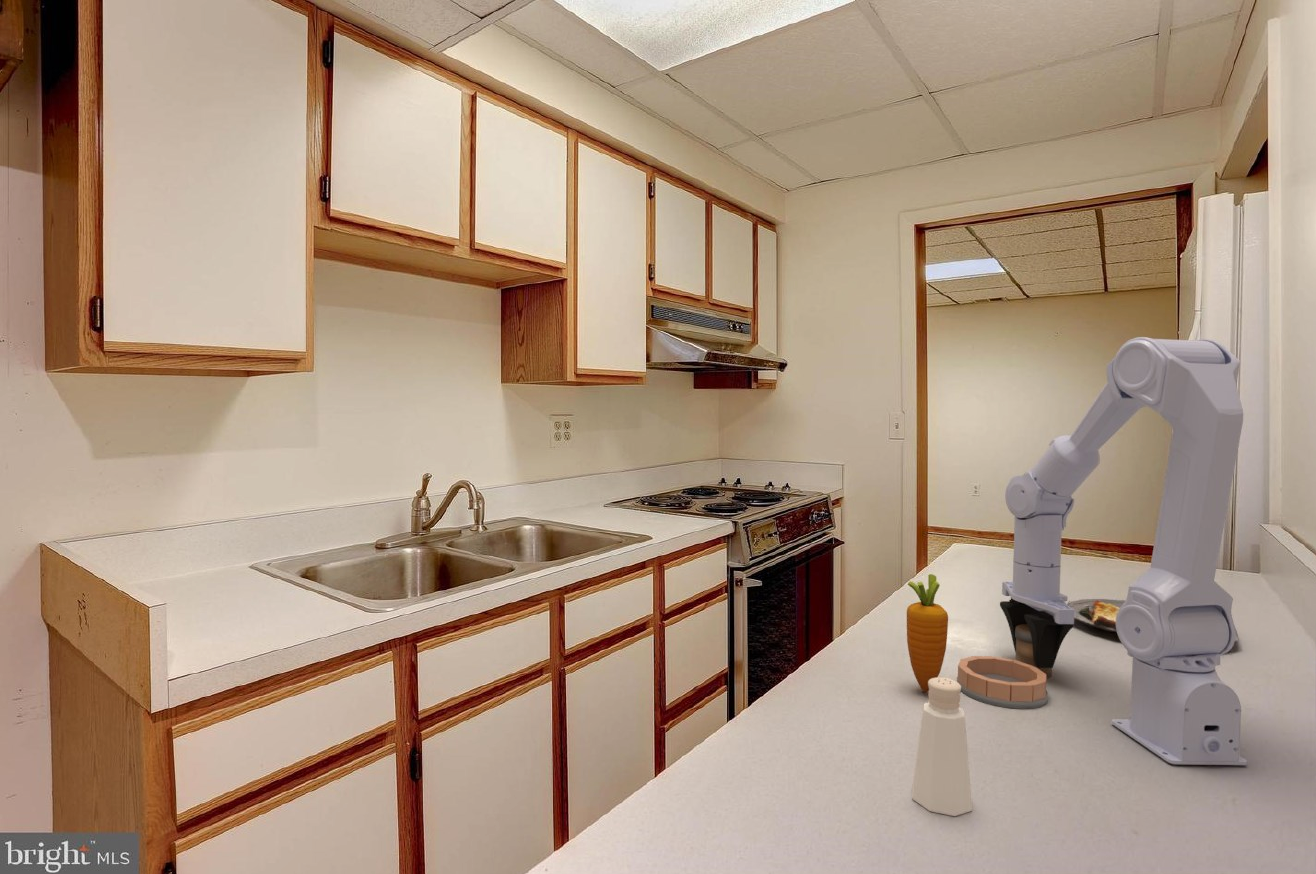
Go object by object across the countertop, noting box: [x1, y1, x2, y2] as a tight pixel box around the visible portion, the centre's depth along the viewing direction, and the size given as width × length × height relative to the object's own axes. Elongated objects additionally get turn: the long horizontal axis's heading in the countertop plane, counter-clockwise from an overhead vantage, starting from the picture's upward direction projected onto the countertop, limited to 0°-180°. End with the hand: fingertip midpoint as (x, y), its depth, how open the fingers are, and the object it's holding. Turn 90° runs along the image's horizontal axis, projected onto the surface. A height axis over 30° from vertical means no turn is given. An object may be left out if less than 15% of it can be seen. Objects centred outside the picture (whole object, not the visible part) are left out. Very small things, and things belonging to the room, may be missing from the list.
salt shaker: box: [911, 676, 973, 817], centre depth 63 cm, size 5×5×11 cm
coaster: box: [956, 655, 1049, 710], centre depth 88 cm, size 10×10×3 cm
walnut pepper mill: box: [1015, 624, 1053, 679], centre depth 95 cm, size 5×5×6 cm
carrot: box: [906, 573, 949, 693], centre depth 87 cm, size 5×5×15 cm
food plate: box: [1066, 598, 1240, 644], centre depth 115 cm, size 25×23×4 cm
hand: (1033, 660), depth 95 cm, fingers closed on walnut pepper mill, 5 cm apart
